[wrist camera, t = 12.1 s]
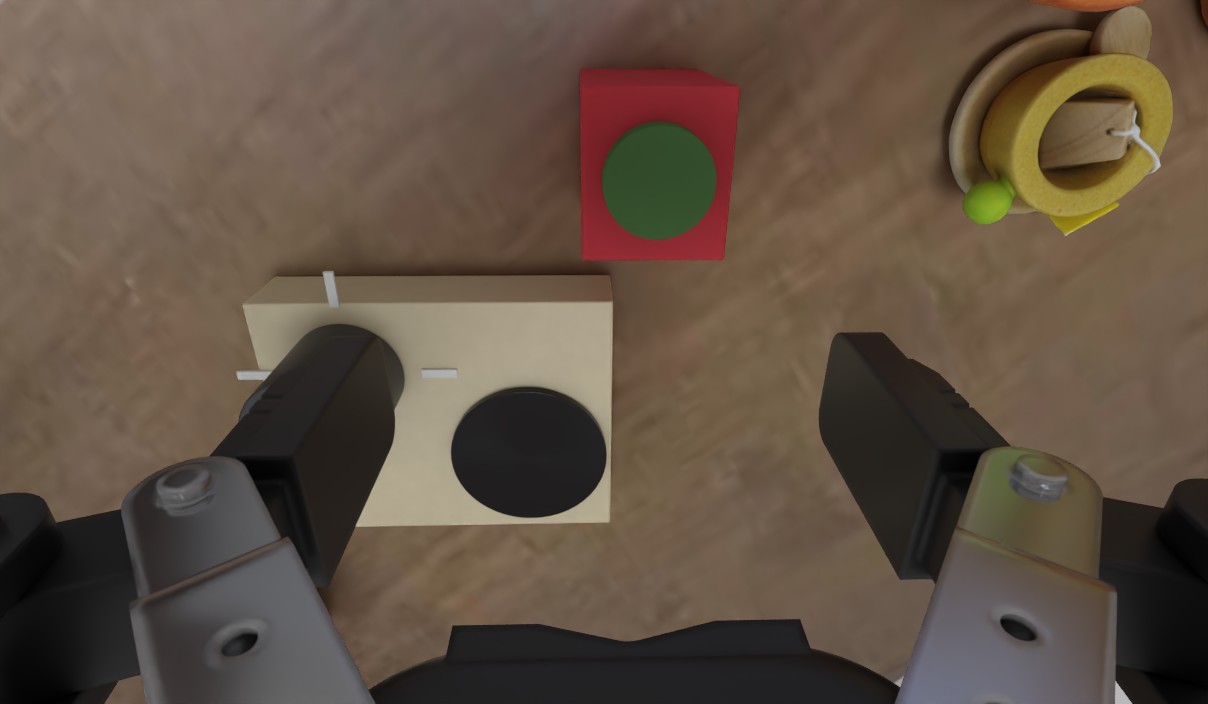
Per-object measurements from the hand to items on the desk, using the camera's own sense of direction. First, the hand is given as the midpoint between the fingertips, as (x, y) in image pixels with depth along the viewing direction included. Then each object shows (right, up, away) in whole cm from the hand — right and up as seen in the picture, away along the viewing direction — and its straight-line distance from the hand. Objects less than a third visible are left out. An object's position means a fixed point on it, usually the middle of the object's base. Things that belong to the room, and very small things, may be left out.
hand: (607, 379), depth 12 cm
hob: (-7, -1, +18) cm, 19 cm away
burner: (-3, -4, +16) cm, 17 cm away
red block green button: (+1, +9, +13) cm, 16 cm away
